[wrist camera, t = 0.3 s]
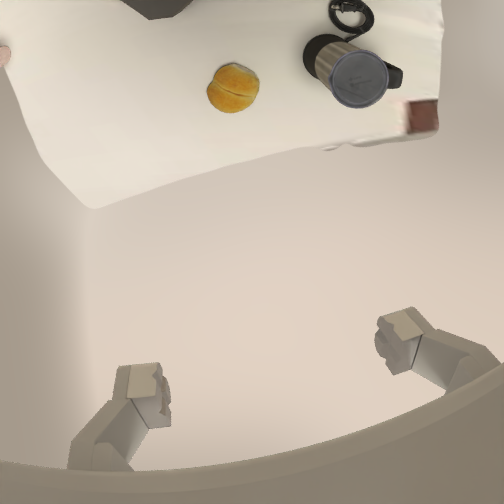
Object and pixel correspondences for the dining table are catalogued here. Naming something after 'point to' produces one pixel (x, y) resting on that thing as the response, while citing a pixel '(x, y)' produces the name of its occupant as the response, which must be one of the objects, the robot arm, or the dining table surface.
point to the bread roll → (233, 88)
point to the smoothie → (4, 55)
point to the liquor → (158, 7)
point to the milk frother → (350, 62)
